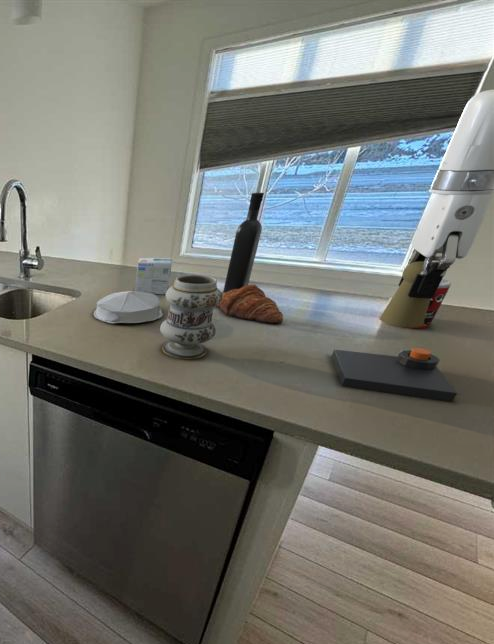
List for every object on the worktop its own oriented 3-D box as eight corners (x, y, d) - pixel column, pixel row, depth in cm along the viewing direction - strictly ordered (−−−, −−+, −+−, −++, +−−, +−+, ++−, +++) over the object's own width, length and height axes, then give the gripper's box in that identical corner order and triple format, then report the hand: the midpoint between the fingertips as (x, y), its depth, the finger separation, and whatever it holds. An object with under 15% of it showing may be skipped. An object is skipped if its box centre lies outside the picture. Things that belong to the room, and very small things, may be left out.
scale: (426, 367, 85) (434, 352, 83) (452, 401, 74) (462, 385, 72) (330, 356, 92) (336, 342, 90) (341, 386, 81) (348, 370, 80)
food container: (155, 330, 112) (159, 306, 109) (85, 322, 121) (86, 300, 118) (167, 306, 127) (170, 285, 123) (103, 300, 136) (105, 280, 132)
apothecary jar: (190, 337, 106) (203, 269, 97) (221, 357, 96) (240, 282, 87) (148, 344, 105) (157, 275, 96) (174, 364, 94) (188, 289, 85)
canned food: (390, 326, 102) (409, 283, 97) (386, 315, 108) (404, 275, 102) (432, 331, 98) (455, 287, 93) (426, 320, 104) (447, 277, 98)
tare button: (425, 355, 83) (429, 349, 82) (430, 361, 81) (433, 354, 80) (407, 354, 84) (410, 347, 83) (411, 359, 82) (414, 352, 81)
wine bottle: (221, 295, 131) (243, 194, 116) (228, 290, 134) (250, 191, 119) (240, 298, 128) (265, 194, 113) (246, 293, 131) (272, 191, 116)
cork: (375, 314, 80) (399, 258, 74) (415, 316, 77) (444, 258, 72) (384, 325, 75) (411, 266, 70) (428, 328, 73) (459, 267, 67)
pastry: (276, 306, 119) (284, 280, 115) (282, 325, 108) (291, 296, 104) (212, 302, 127) (218, 276, 123) (211, 319, 115) (217, 292, 111)
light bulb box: (168, 288, 141) (173, 257, 135) (167, 295, 135) (172, 262, 130) (136, 287, 145) (139, 257, 139) (133, 293, 140) (137, 262, 134)
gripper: (527, 187, 56) (461, 310, 66) (477, 175, 69) (427, 280, 78) (452, 189, 60) (399, 305, 69) (417, 178, 72) (376, 278, 82)
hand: (414, 291), depth 73 cm, fingers closed on cork, 5 cm apart
